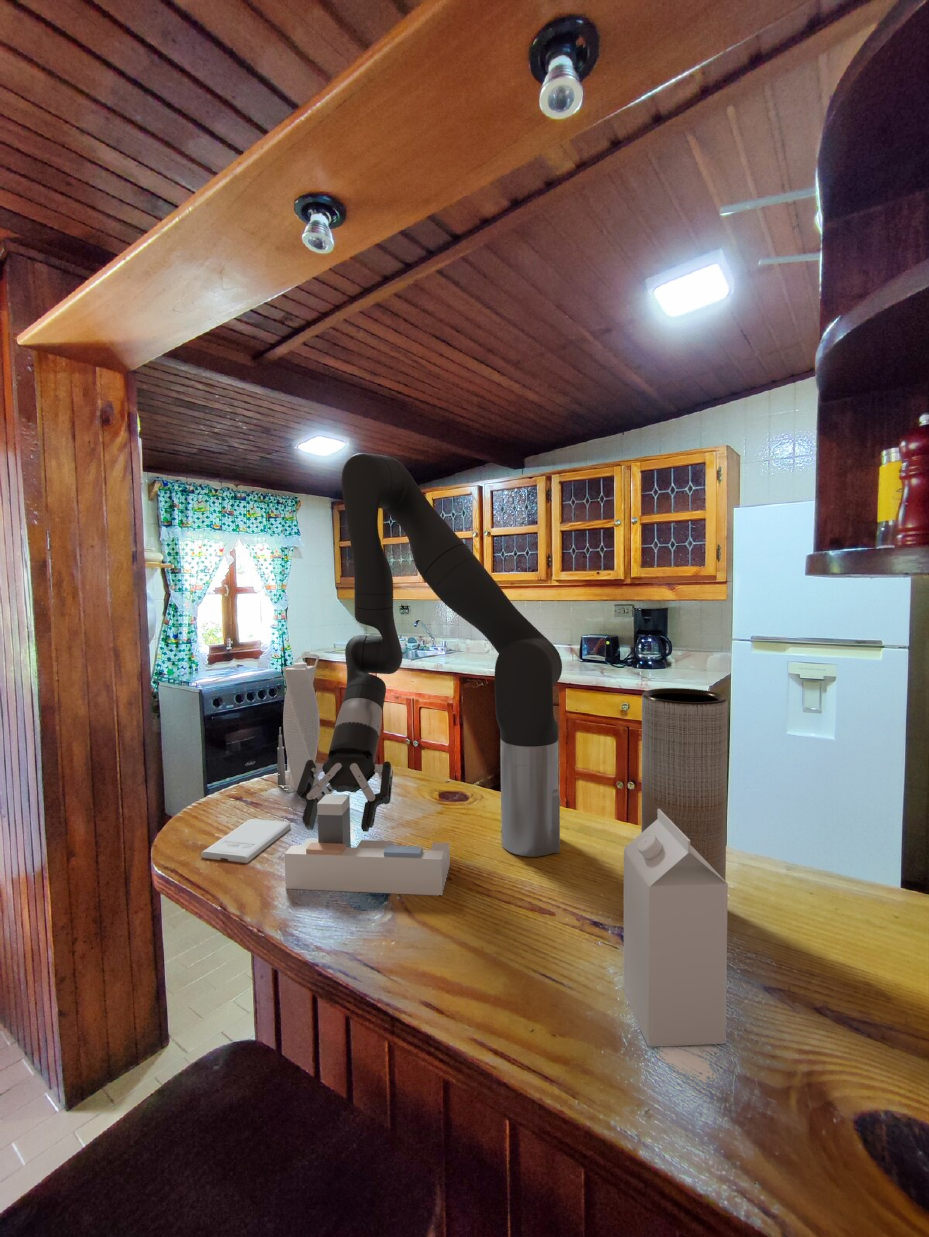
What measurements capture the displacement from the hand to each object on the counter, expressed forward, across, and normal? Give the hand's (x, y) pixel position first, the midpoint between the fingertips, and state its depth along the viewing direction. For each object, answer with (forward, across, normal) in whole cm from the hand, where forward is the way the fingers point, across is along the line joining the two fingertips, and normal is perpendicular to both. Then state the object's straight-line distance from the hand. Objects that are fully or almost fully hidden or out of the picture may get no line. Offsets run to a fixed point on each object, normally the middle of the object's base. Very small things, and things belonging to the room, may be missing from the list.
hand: (336, 828), depth 81 cm
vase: (+10, +47, -1) cm, 48 cm away
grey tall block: (+5, 0, +4) cm, 6 cm away
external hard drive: (-1, -18, +10) cm, 21 cm away
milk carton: (+22, +41, -13) cm, 49 cm away
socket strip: (+6, +6, +3) cm, 8 cm away
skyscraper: (-20, -19, +29) cm, 40 cm away
